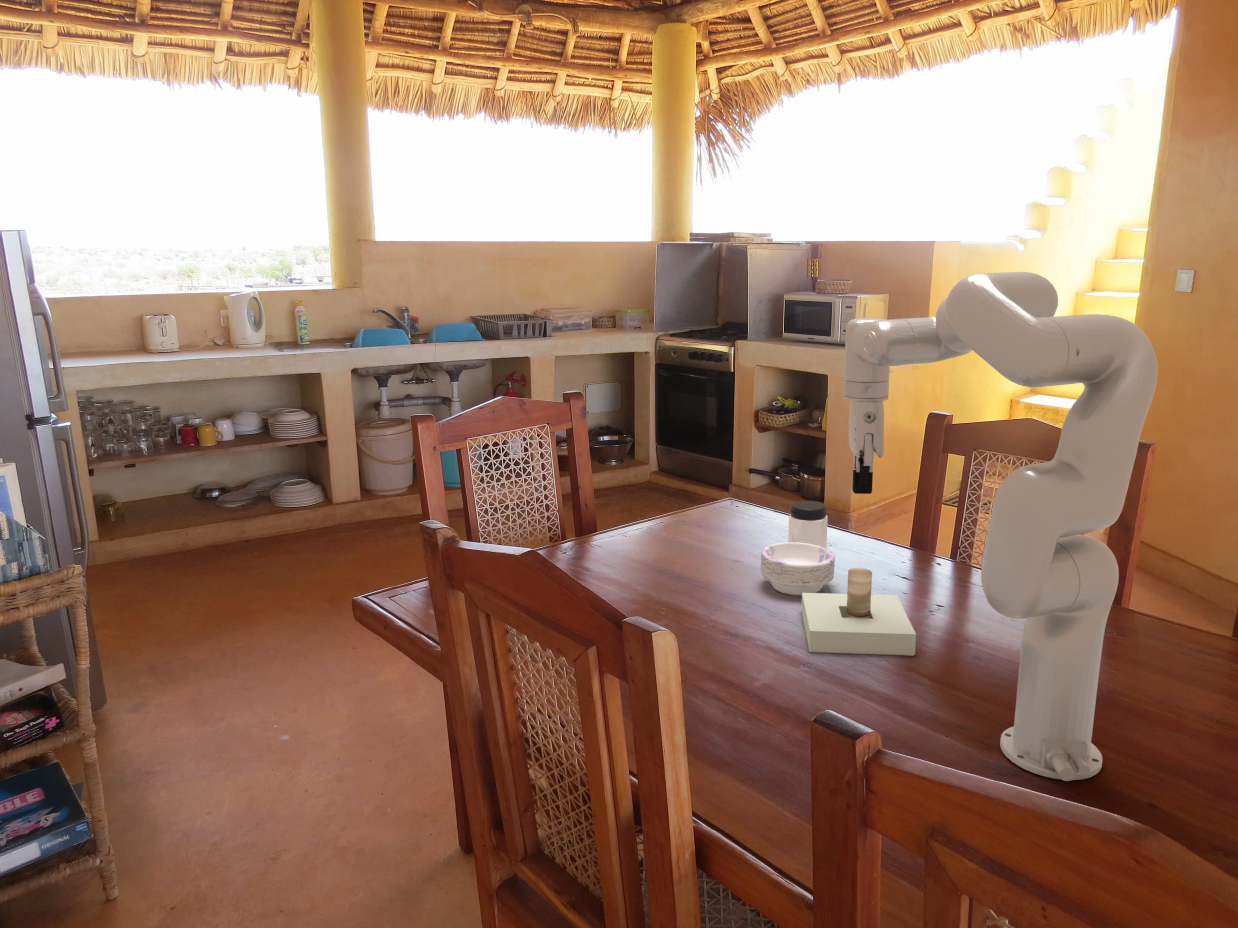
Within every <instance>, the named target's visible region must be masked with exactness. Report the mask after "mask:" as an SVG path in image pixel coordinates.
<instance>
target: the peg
mask: <svg viewBox="0 0 1238 928" xmlns="http://www.w3.org/2000/svg"><path fill="white" fill-rule="evenodd" d="M872 581H873V571H871V569H867V568H863V567H853V568H849V569H848V571H847V590H846V591H847V593H846V594H847V608H846V612H847V614H848V618H868V616H869V615H870V614H871V610H870V608H871V595H872V584H873V582H872Z"/></svg>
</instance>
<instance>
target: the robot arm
mask: <svg viewBox="0 0 1238 928" xmlns="http://www.w3.org/2000/svg"><path fill="white" fill-rule="evenodd" d="M1058 306H1059V296H1058V292H1057V290H1056V288H1055V286H1054V284H1053V283H1052V282H1050V281H1049V280H1048V279H1047V278H1046V277H1044V276H1042V275H1040V274H1037V273H1033V272H1027V271H1007V272H1005V271H1004V272H1003V271H1002V272H983V273H982V272H981V273H975V274H971V275H968V276H966V277H964V278H962V279H960V281H958V282H957V283H956V284H955V285H954V286H953V287H952V289H951V290H950V291H949V292H948V295H947V297H946V298H944V299H943V300H942V301H941V303H940V304H939V306H938V307H937V309H936V313H935V316H929V317H927V316H926V317H911V318H910V317H909V318H908V317H907V318H893V319H892V318H891V319H886V318H880V317H862V318H861V317H859V318H854V319H850V320H849V321H848V322H847V325H846V327H845V343H844V344H845V345H844V347H845V348H844V373H843V374H844V375H843V377H844V380H843V399H844V400H845V401H849V410H848V411H849V413H848V414H849V415H848V447H849V449H850V451H851V453H852V454H853V469H852V486H851V490H852V492H853V494H855V495H858V494H859V495H863V494H864V495H870V494H872V493H873V481H874V479H873V475H874V471H873V469H874V468H873V467H874V456H875V455H874V454H876V455H877V456H878V458H883V457H884V455H885V409H884V401H885V402H886V401H888V400H889V394H890V393H889V392H890V391H889V390H890V372H891V371H890V370H891V369H890V368H891V367H897V366H904V365H905V366H907V365H920V364H922V365H923V364H932V363H937V362H941V361H942V362H943V361H945V360H948V359H949V360H950V359H954V358H957V357H961V356H964V355H968V354H969V353H971V352H972V351H973V352H974V353H975V354H977V355H978V356H979V357H980V358H982V360H984V361H985V363H987V364H988V365H990V367H992V368H993V369H994V370H995V371H996V372H997V373H999V375H1001V376H1003V377H1004V378H1005V379H1007V380H1008V381H1010V382H1012V383H1014V384H1017V385H1019V386H1022V387H1027V388H1045V387H1053V386H1054V387H1055V386H1057V387H1058V386H1067V385H1072V384H1073V385H1075V384H1083V386H1084V387H1083V391H1082V392H1081V394H1080V395H1079V396H1078V398H1077V399H1076V400H1075V402H1074V403H1073V405H1072V406H1071V408H1070V409H1069V411H1068V413H1067V415H1066V417H1065V418H1064V421H1063V424H1062V426H1061V431H1060V432H1061V433H1060V438H1059V442H1058V447H1057V449H1056V452H1055V454H1054V457H1053V458H1052V459H1051V460H1050V461H1046V462H1039V463H1032V464H1026V465H1024V466H1021V467H1018V468H1017V469H1015V470H1013V471H1012V472H1010V473H1008V475H1007V476H1006V477H1005V478H1004V479H1003V480H1002V481H1001V484H1000V485H999V487H998V488H997V491H996V493H995V496H994V500H993V504H992V508H991V513H990V517H989V518H990V519H989V520H990V521H989V524H988V529H987V535H986V540H985V545H984V551H983V558H982V561H981V563H982V564H981V570H980V571H981V572H980V577H981V578H980V579H981V587H982V591H983V594H984V597H985V599H986V600H987V601H986V602H988V604H989V605H990V607H991V608H992V610H994V611H996V613H998V614H1000V615H1001V616H1004V617H1006V618H1009V619H1018V620H1019V619H1021V620H1022V619H1025V622H1024V625H1023V629H1022V635H1021V644H1020V645H1021V646H1020V653H1019V654H1020V655H1019V664H1018V665H1019V667H1018V678H1017V679H1018V680H1017V688H1016V689H1017V690H1016V698H1015V699H1016V700H1015V701H1016V702H1015V711H1014V721H1013V723H1014V724H1013V726H1011V727H1008V728H1007V729H1005V730H1004V731H1003V732H1002V733H1001V735H1000V739H999V741H1000V742H999V743H1000V746H999V747H1000V749H1001V752H1002V753H1003V754H1004V756H1005V757H1006V758H1007V759H1009V760H1010V762H1012V763H1014V764H1015V765H1016V766H1018V767H1020V768H1021V769H1024V770H1025V771H1027V772H1030V773H1032V774H1036V775H1037V776H1041V777H1045V778H1049V779H1054V780H1062V781H1064V782H1070V781H1079V780H1081V781H1082V780H1085V779H1089V778H1093V776H1096V775H1097V774H1098V773H1099V772H1101V769H1102V767H1103V755H1102V753H1101V751H1100V750H1099V749H1098V747H1096V746H1095V744H1093V743H1092V739H1093V738H1092V737H1093V728H1094V727H1093V726H1094V721H1095V720H1094V719H1095V711H1096V704H1097V703H1096V701H1097V693H1098V684H1099V677H1100V676H1099V674H1100V668H1101V667H1100V666H1101V659H1102V651H1103V644H1104V637H1105V630H1106V625H1107V623H1108V622H1107V621H1108V618H1109V614H1110V611H1111V608H1112V605H1113V602H1114V599H1115V596H1116V593H1117V590H1118V586H1119V576H1120V573H1119V570H1120V569H1119V565H1118V562H1117V558H1116V556H1115V555H1114V552H1113V551H1112V550H1111V549H1110V547H1109V546H1107V544H1106V543H1104V542H1103V541H1101V540H1099V539H1098V538H1096V537H1093V536H1090V535H1086V534H1089V533H1094V532H1099V531H1101V530H1105V529H1107V528H1108V527H1111V526H1112V525H1113V524H1115V523H1116V522H1117V521H1118V519H1119V517H1120V515H1121V513H1122V511H1123V508H1124V505H1125V502H1126V497H1127V492H1128V489H1129V485H1130V481H1131V476H1132V473H1133V469H1134V465H1135V461H1136V456H1137V454H1138V449H1139V448H1138V447H1139V443H1140V439H1141V435H1142V432H1143V428H1144V424H1145V421H1146V420H1147V416H1148V413H1149V410H1150V407H1151V405H1152V402H1153V399H1154V395H1155V392H1156V388H1157V384H1158V376H1159V363H1158V358H1157V354H1156V351H1155V348H1154V346H1153V343H1152V342H1151V340H1150V338H1149V337H1148V335H1147V334H1146V333H1145V332H1144V330H1142V329H1141V328H1140V327H1139V326H1138V325H1136V324H1135V323H1133V322H1132V321H1129V320H1128V319H1125V318H1122V317H1119V316H1116V315H1110V314H1098V313H1097V314H1095V313H1093V314H1092V313H1090V314H1073V315H1071V314H1070V315H1062V316H1061V315H1059V316H1056V312H1057V309H1058Z"/></svg>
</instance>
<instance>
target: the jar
mask: <svg viewBox="0 0 1238 928" xmlns="http://www.w3.org/2000/svg"><path fill="white" fill-rule="evenodd" d="M789 513H790V515H789V516H788V538H787V539H788V542H798V543H808V544H813V545H817V546H820V547H823V548H826V549H827V547H828V545H827V544H828V541H827V540H828V515H827V505H826V503H824V502H821V501H818V500H817V501H816V500H797V501H794V502H792V503H791V504H790V512H789Z"/></svg>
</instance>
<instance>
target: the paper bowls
mask: <svg viewBox="0 0 1238 928" xmlns="http://www.w3.org/2000/svg"><path fill="white" fill-rule="evenodd" d="M835 559H836V557H835V555H834V553H833V552H832V551H831V550H829V549H826V548H823V547H820V546H817V545H813V544H808V543H798V542H787V541H786V542H784V541H783V542H777V543H772V544H769V545H767V546H765V547H764V548H763V549H762V551H761V552H760V574H761V575H762V577H763V578H764V579H766V580H767V581H769V583H770V584H771V586H772V587H773V589H775V590H776V591H778V592H780V593H783V594H786V595H790V596H797V597H798V596H801V597H802V593H819V592H820V591H821V590H822V589H823V587H824V586H825V585H828V584H829V583H830V582H832V581H833V580H834V577H835V561H836V560H835Z"/></svg>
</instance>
